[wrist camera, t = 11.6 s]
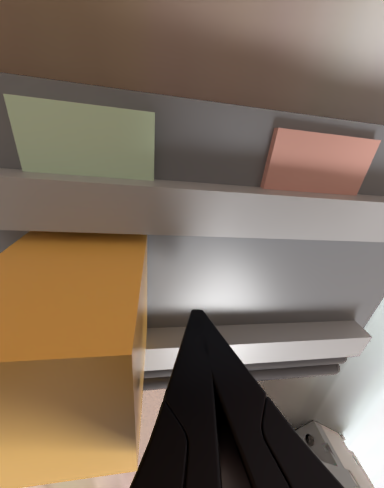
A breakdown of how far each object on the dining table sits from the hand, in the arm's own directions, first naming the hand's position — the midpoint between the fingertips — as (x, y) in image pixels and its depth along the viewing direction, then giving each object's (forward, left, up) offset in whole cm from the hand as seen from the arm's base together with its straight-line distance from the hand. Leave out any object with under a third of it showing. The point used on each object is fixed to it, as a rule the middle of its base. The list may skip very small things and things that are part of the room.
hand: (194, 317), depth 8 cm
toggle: (-4, 0, -2) cm, 4 cm away
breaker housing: (0, 0, -4) cm, 4 cm away
